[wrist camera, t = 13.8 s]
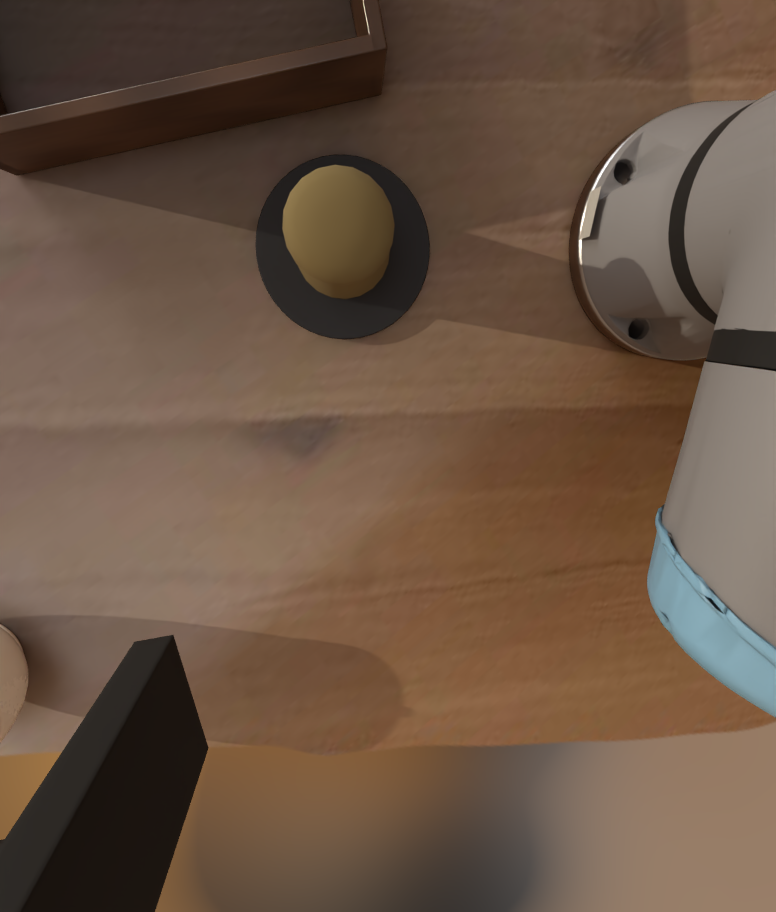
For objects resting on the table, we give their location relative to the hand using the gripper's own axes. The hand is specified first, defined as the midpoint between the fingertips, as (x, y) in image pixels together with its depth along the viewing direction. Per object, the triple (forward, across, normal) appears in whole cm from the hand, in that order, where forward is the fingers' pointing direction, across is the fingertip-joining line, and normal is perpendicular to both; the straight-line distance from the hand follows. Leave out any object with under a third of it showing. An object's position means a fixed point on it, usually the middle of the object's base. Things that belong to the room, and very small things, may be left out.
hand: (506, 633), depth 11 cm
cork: (+27, +2, -11) cm, 29 cm away
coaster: (+28, +2, -10) cm, 30 cm away
